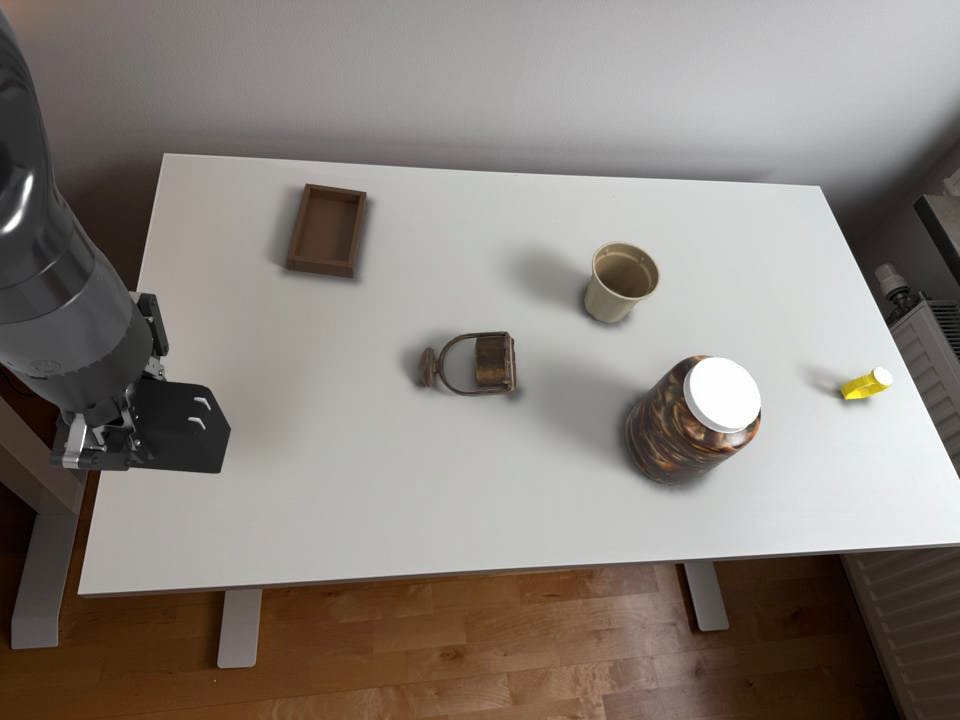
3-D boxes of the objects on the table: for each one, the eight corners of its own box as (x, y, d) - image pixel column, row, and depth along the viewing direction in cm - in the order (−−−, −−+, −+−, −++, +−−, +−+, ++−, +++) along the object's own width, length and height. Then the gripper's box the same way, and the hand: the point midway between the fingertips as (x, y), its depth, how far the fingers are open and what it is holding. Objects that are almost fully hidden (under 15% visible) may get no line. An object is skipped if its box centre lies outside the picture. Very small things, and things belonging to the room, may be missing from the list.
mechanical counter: (514, 412, 70) (542, 337, 73) (413, 368, 69) (446, 295, 72) (501, 421, 77) (528, 352, 80) (409, 382, 76) (439, 314, 79)
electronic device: (118, 422, 54) (70, 371, 46) (233, 431, 55) (208, 384, 47) (102, 466, 52) (50, 422, 44) (222, 475, 53) (194, 434, 45)
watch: (838, 405, 85) (868, 387, 79) (829, 387, 86) (859, 368, 81) (873, 402, 86) (905, 383, 81) (865, 384, 87) (896, 365, 82)
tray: (288, 270, 81) (286, 258, 79) (307, 195, 88) (305, 182, 85) (353, 278, 82) (352, 267, 80) (366, 203, 89) (366, 191, 86)
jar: (727, 458, 78) (798, 412, 65) (661, 502, 73) (724, 462, 60) (669, 385, 82) (726, 328, 69) (604, 423, 77) (651, 370, 64)
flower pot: (647, 325, 86) (673, 291, 78) (589, 340, 83) (611, 305, 76) (618, 273, 90) (641, 235, 82) (563, 286, 87) (580, 248, 80)
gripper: (37, 211, 37) (131, 346, 52) (-74, 422, 31) (71, 509, 45) (163, 227, 38) (220, 356, 53) (83, 437, 31) (175, 517, 46)
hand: (151, 426), depth 49 cm, fingers closed on electronic device, 4 cm apart
